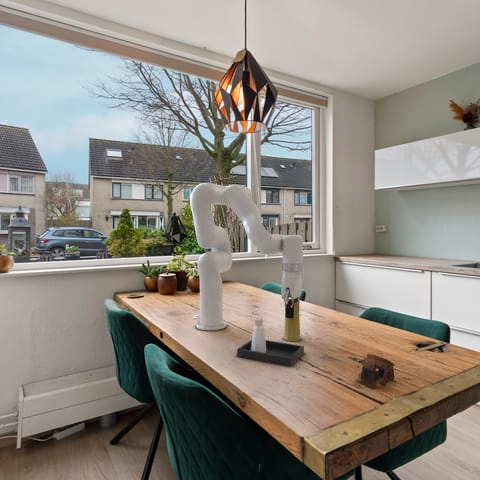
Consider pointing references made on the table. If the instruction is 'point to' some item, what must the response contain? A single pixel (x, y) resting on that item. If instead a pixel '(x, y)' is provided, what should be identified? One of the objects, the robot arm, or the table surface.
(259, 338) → the salt shaker
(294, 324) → the vase
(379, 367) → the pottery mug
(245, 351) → the tray
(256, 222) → the robot arm
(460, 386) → the table surface
